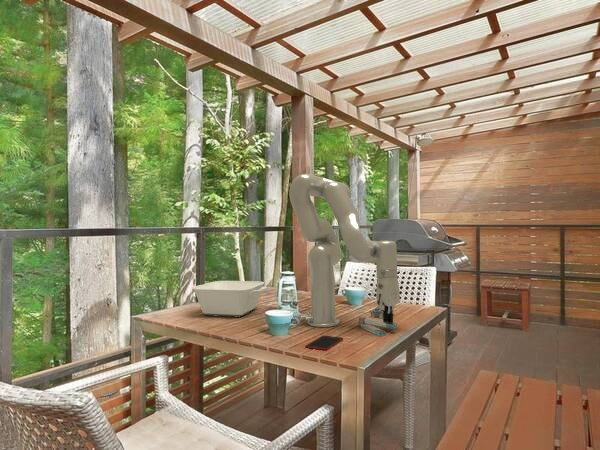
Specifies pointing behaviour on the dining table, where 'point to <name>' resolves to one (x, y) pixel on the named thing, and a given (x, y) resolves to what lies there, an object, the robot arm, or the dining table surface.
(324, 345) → the cell phone
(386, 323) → the tongs upper arm
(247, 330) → the dining table surface
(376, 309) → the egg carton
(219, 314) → the tub
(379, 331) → the tongs lower
